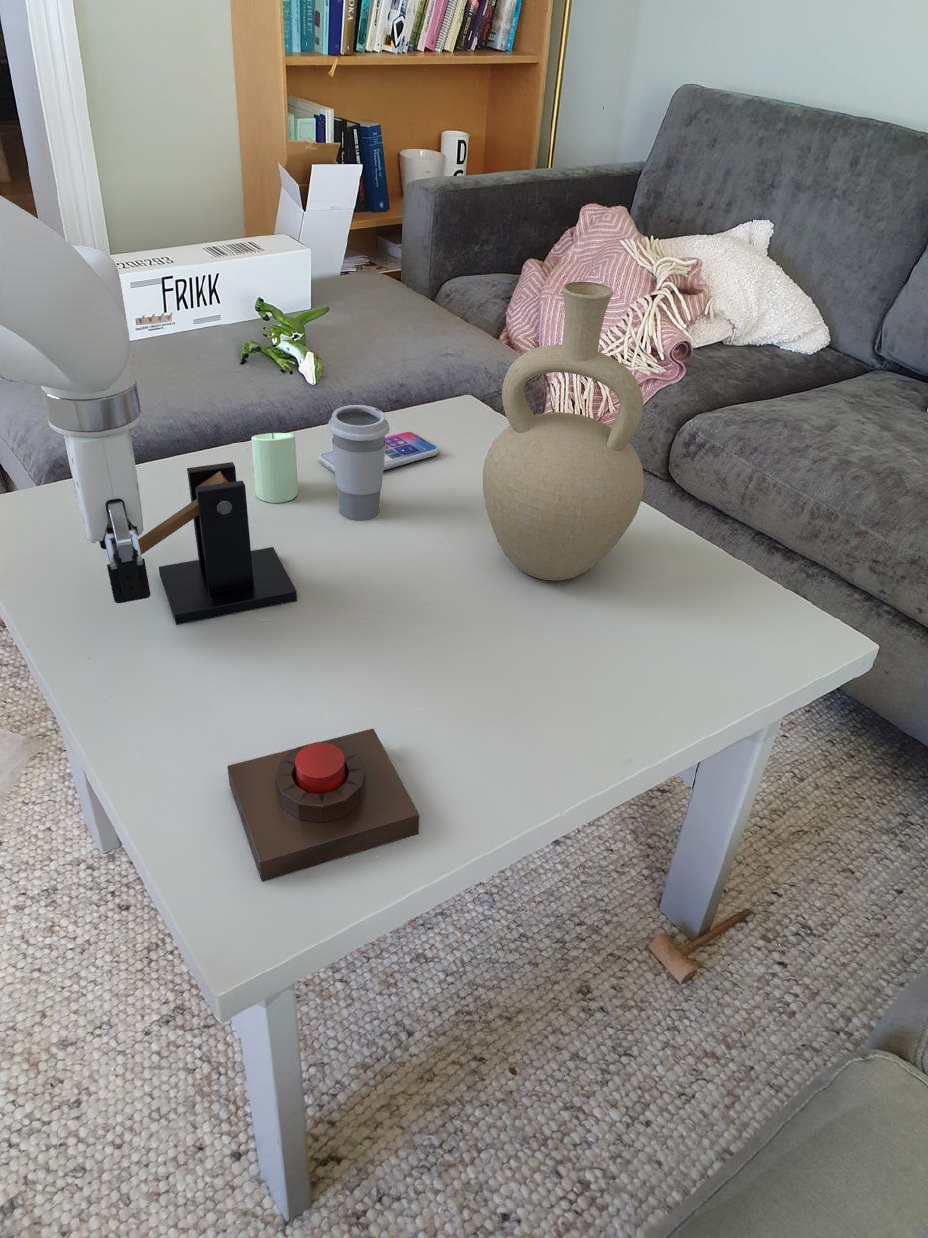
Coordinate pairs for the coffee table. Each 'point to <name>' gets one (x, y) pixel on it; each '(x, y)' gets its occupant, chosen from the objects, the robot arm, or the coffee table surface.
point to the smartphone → (396, 451)
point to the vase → (565, 455)
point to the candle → (275, 467)
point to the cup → (358, 458)
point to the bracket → (223, 556)
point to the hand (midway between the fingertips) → (124, 571)
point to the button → (320, 768)
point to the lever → (174, 519)
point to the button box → (320, 807)
